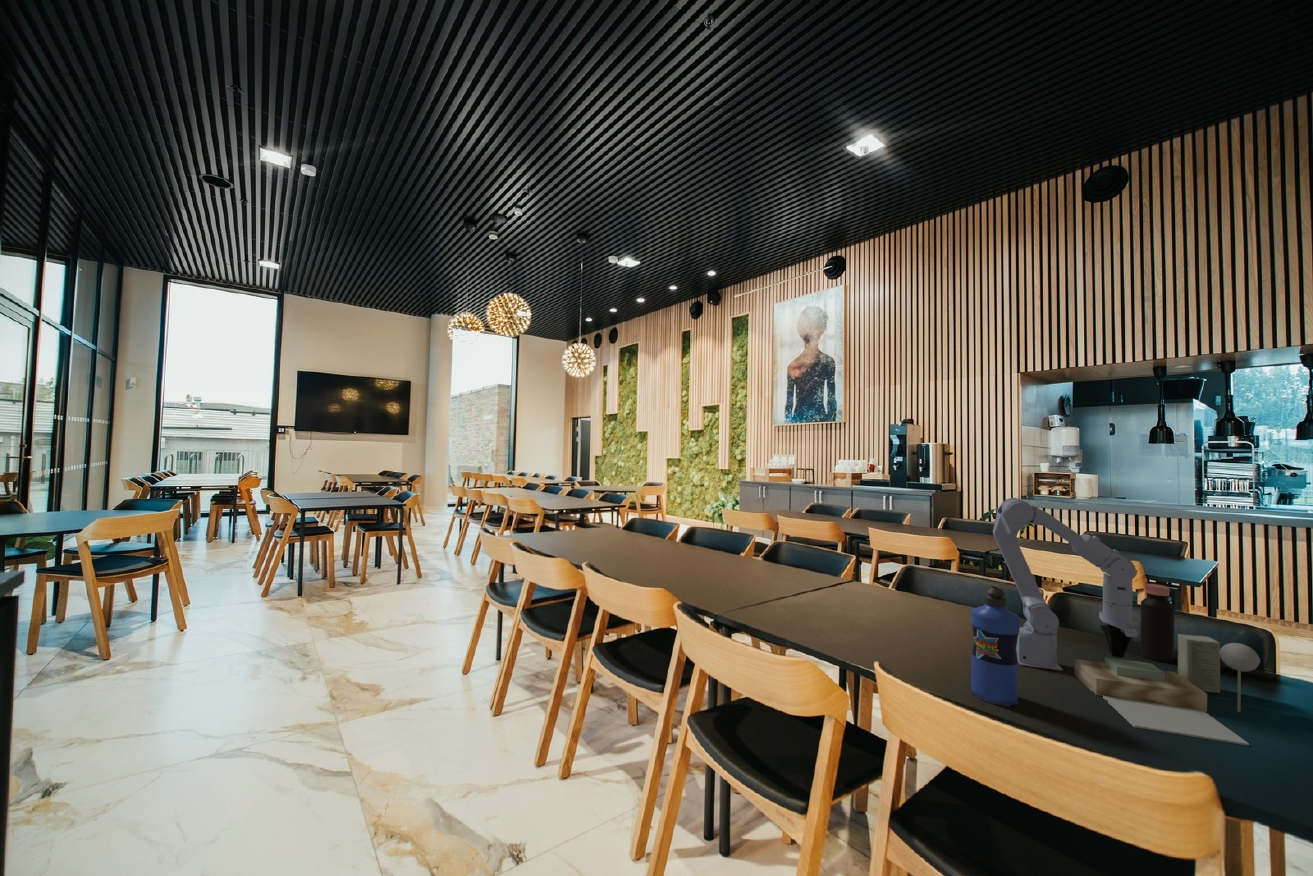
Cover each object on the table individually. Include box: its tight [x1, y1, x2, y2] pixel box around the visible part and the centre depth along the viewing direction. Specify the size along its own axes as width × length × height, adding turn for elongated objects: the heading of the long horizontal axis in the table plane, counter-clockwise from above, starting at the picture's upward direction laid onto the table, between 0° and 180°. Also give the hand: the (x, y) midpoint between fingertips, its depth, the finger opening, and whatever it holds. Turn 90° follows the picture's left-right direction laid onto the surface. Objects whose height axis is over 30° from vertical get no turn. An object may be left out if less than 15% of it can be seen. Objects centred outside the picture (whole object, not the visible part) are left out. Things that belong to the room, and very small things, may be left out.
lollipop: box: [1219, 642, 1261, 713], centre depth 116 cm, size 6×6×15 cm
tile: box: [1104, 657, 1165, 682], centre depth 125 cm, size 9×6×2 cm, turn 71°
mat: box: [1101, 695, 1250, 747], centre depth 112 cm, size 18×14×1 cm
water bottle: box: [970, 586, 1021, 706], centre depth 120 cm, size 9×9×25 cm
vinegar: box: [1139, 583, 1175, 663], centre depth 146 cm, size 7×7×20 cm
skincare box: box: [1177, 633, 1221, 694], centre depth 128 cm, size 6×4×12 cm
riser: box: [1074, 658, 1208, 713], centre depth 124 cm, size 20×12×4 cm, turn 71°
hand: (1116, 656), depth 133 cm, fingers closed
